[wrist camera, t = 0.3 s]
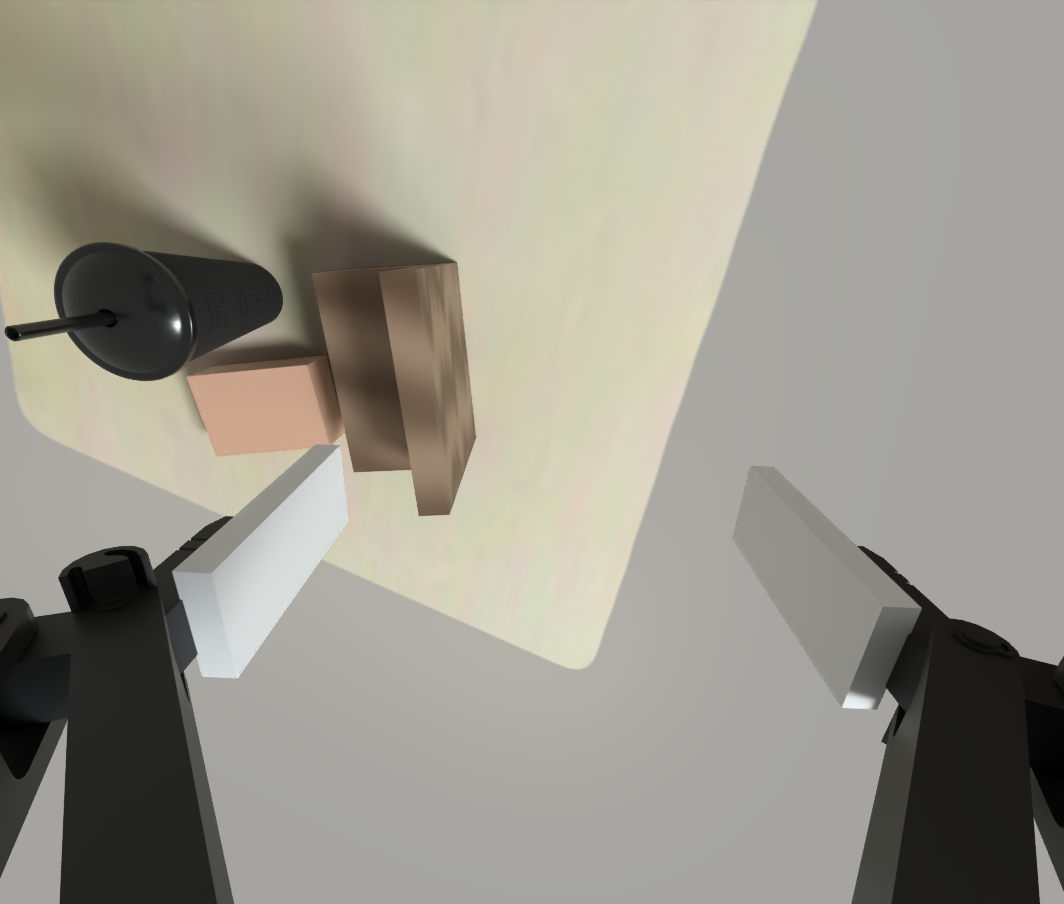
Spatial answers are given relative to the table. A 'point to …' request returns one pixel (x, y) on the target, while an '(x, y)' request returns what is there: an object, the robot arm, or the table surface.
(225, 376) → the pink rectangular block
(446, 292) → the desk shelf
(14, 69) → the table surface
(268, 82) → the table surface
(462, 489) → the table surface
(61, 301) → the drinking cup
